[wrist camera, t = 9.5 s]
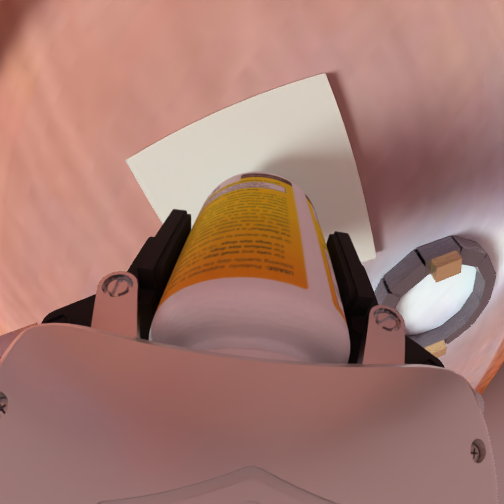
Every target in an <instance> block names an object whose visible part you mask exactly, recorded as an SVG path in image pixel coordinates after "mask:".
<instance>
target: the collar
mask: <svg viewBox="0 0 504 504" xmlns="http://www.w3.org/2000/svg"><path fill="white" fill-rule="evenodd" d="M462 264H463V265H469V266H474V267H475V268H476V270H477V271H476V278H475V283H474V289H473V292H472V293H471V295H470V297H469V298H468V300H467V301H466V303H465V304H464V306H463V307H462V309H461V310H460V311H459V312H458V313H457V314H456V315H454V316H453V317H452V318H451V319H449V320H448V321H447V322H446V323H444V324H443V325H442V326H440V327H438V328H436V329H433V330H431V331H428V332H425V333H423V334H420V335H407V336H408V337H409V338H411V339H412V340H414V341H415V342H416V343H418V344H419V345H420V346H422V347H423V348H424V349H426V350H427V351H429V352H430V353H431V354H433V355H434V356H435V357H437V358H438V357H440V356H442V355H445V353H446V349H447V347H446V343H447V344H449V343H450V342H451V341H453V340H454V339H455V338H457V337H458V336H459V335H461V334H462V333H463V332H464V331H466V330H467V329H468V328H469V327H471V324H473V323H474V322H475V321H476V319H477V318H478V317H479V315H480V314H481V313H482V311H483V310H484V308H485V307H486V305H487V304H488V302H489V301H488V300H490V298H491V294H492V290H493V286H494V282H495V278H496V275H495V274H496V273H495V270H494V268H493V265H492V263H491V261H490V259H489V256H488V255H487V253H486V252H485V251H484V250H483V249H482V247H481V246H480V245H479V244H478V243H477V242H474V241H471V240H467V239H463V238H459V237H455V236H452V238H451V237H450V236H449V237H446V238H443V239H440V240H438V241H435V242H432V243H429V244H426V245H424V246H421V247H418V248H417V253H416V252H415V251H414V250H413V251H412V252H411V253H410V254H408V255H407V256H406V257H405V258H404V259H403V260H402V261H401V262H399V263H398V264H397V265H396V266H395V267H394V268H392V269H391V270H390V271H389V272H388V273H387V274H385V275H384V278H385V279H381V281H380V283H379V285H378V287H377V289H376V291H375V293H374V294H375V296H376V299H377V302H378V304H379V305H385V306H389V307H391V308H393V309H394V308H395V307H396V305H397V303H398V302H399V300H400V298H401V297H402V296H403V295H404V294H405V293H407V292H408V291H409V290H410V289H412V288H413V287H414V286H415V285H416V284H418V283H419V282H420V281H421V280H422V279H423V278H425V277H426V276H427V275H428V274H431V275H432V276H433V278H434V280H435V281H436V282H439V281H441V280H444V279H446V278H449V277H451V276H454V275H456V274H459V273H461V265H462Z"/></svg>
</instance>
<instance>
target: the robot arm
mask: <svg viewBox="0 0 504 504" xmlns="http://www.w3.org/2000/svg"><path fill="white" fill-rule="evenodd" d="M190 231H191V214H187V211H186V210H178V209H173V210H172V211H171V213H170V214H169V216H168V217H167V219H166V220H165V222H164V223H163V225H162V227H161V228H160V230H159V231H158V233H157V234H156V236H155V237H149V238H148V240H147V241H146V243H145V244H144V246H143V247H142V249H141V250H140V252H139V254H138V255H137V257H136V258H135V260H134V261H133V263H132V265H131V266H130V268H129V270H128V271H127V272H122V271H118V272H113V273H110V274H108V275H106V276H105V277H103V278H102V279H101V280H100V282H99V284H98V287H97V292H96V294H95V295H93V296H90V297H88V298H85V299H82V300H80V301H77V302H75V303H72V304H70V305H67V306H65V307H62V308H60V309H57V310H55V311H53V312H51V313H49V314H48V315H47V316H46V317H45V318H44V320H43V321H42V324H37V323H35V324H32V325H29V326H26V327H24V328H21V329H18V330H15V331H13V332H10V333H7V334H4V335H2V336H0V504H498V491H497V480H496V479H497V478H496V471H495V464H494V458H493V453H492V448H491V443H490V438H489V434H488V430H487V426H486V423H485V420H484V416H483V413H484V406H485V405H484V400H483V398H482V397H481V395H480V394H479V393H478V392H476V391H475V390H474V389H472V387H471V385H470V384H469V382H468V381H467V380H466V379H465V378H464V377H463V376H461V375H460V374H458V373H456V372H454V371H452V370H449V369H446V368H444V365H443V364H442V362H441V361H440V360H439V359H438V358H437V357H435V356H434V355H433V354H431V353H430V352H429V351H427V350H426V349H424V348H423V347H422V346H420V345H419V344H418V343H416V342H415V341H414V340H412V339H411V338H409V337H408V336H407V335H405V324H404V320H403V318H402V316H401V315H400V314H399V313H398V312H397V311H396V310H395V309H393V308H391V307H389V306H385V305H379V304H378V302H377V299H376V296H375V294H374V291H373V288H372V286H371V283H370V281H369V278H368V275H367V273H366V270H365V268H364V266H362V264H361V262H360V259H359V257H358V255H357V252H356V250H355V247H354V245H353V243H352V240H351V238H350V236H349V234H348V233H344V232H338V231H335V232H334V234H330V235H329V237H328V240H327V243H326V246H327V249H328V252H329V256H330V260H331V263H332V267H333V271H334V275H335V278H336V282H337V286H338V290H339V294H340V298H341V301H342V305H343V310H344V314H345V318H346V322H347V327H348V332H349V338H350V355H349V360H348V363H347V364H345V363H319V362H303V361H289V360H277V359H266V358H257V357H248V356H239V355H232V354H224V353H217V352H211V351H204V350H198V349H192V348H186V347H180V346H175V345H170V344H164V343H159V342H154V341H150V340H149V332H150V328H151V324H152V321H153V318H154V315H155V313H156V310H157V308H158V305H159V303H160V300H161V298H162V296H163V293H164V291H165V288H166V286H167V283H168V281H169V279H170V276H171V274H172V272H173V269H174V267H175V265H176V262H177V260H178V258H179V255H180V253H181V251H182V249H183V247H184V244H185V242H186V240H187V238H188V236H189V233H190Z"/></svg>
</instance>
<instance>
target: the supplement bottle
mask: <svg viewBox="0 0 504 504" xmlns="http://www.w3.org/2000/svg"><path fill="white" fill-rule="evenodd" d="M149 340H150V341H154V342H159V343H164V344H170V345H175V346H180V347H186V348H192V349H198V350H204V351H211V352H217V353H224V354H232V355H239V356H248V357H257V358H266V359H277V360H289V361H303V362H319V363H345V364H347V363H348V360H349V355H350V338H349V332H348V327H347V322H346V318H345V314H344V310H343V305H342V301H341V298H340V294H339V290H338V286H337V282H336V278H335V275H334V271H333V267H332V263H331V260H330V256H329V252H328V249H327V246H326V242H325V239H324V236H323V233H322V230H321V226H320V223H319V220H318V217H317V214H316V211H315V209H314V206H313V204H312V202H311V201H310V199H309V198H308V196H307V195H306V194H305V192H304V191H303V190H302V189H301V188H300V187H299V186H297V185H296V184H295V183H293V182H292V181H290V180H288V179H286V178H284V177H282V176H279V175H276V174H272V173H267V172H247V173H242V174H238V175H236V176H233V177H231V178H229V179H227V180H225V181H223V182H222V183H221V184H219V185H218V186H217V187H216V188H215V189H214V190H213V191H212V192H211V193H210V194H209V196H208V197H207V199H206V200H205V202H204V204H203V206H202V208H201V210H200V212H199V214H198V216H197V218H196V221H195V223H194V225H193V227H192V229H191V231H190V233H189V236H188V238H187V240H186V242H185V244H184V247H183V249H182V251H181V253H180V255H179V258H178V260H177V262H176V265H175V267H174V269H173V272H172V274H171V276H170V279H169V281H168V283H167V286H166V288H165V291H164V293H163V296H162V298H161V300H160V303H159V305H158V308H157V310H156V313H155V315H154V318H153V321H152V324H151V328H150V332H149Z"/></svg>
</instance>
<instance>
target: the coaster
mask: <svg viewBox="0 0 504 504" xmlns="http://www.w3.org/2000/svg"><path fill="white" fill-rule="evenodd" d="M126 162H127V164H128V166H129V167H130V169H131V171H132V173H133V174H134V176H135V178H136V180H137V181H138V183H139V185H140V187H141V188H142V190H143V192H144V193H145V195H146V197H147V199H148V200H149V202H150V204H151V205H152V207H153V209H154V210H155V212H156V214H157V215H158V217H159V219H160V220H161V222H162V223H164V222H165V220H166V219H167V217H168V216H169V214H170V213H171V211H172V210H173V209H178V210H186V211H187V214H191V229H192V227H193V225H194V223H195V221H196V218H197V216H198V214H199V212H200V210H201V208H202V206H203V204H204V202H205V200H206V199H207V197H208V196H209V194H210V193H211V192H212V191H213V190H214V189H215V188H216V187H217V186H218V185H219V184H221V183H222V182H223V181H225V180H227V179H229V178H231V177H233V176H236V175H238V174H242V173H247V172H267V173H272V174H276V175H279V176H282V177H284V178H286V179H288V180H290V181H292V182H293V183H295V184H296V185H297V186H299V187H300V188H301V189H302V190H303V191H304V192H305V194H306V195H307V196H308V198H309V199H310V201H311V202H312V204H313V206H314V209H315V211H316V214H317V217H318V220H319V223H320V226H321V230H322V233H323V236H324V239H325V242H326V243H327V240H328V237H329V235H330V234H334V232H335V231H338V232H344V233H348V234H349V236H350V238H351V240H352V243H353V245H354V247H355V250H356V252H357V255H358V257H359V259H360V262H361V263H362V262H365V261H368V260H371V259H374V258H376V253H375V247H374V242H373V236H372V231H371V226H370V221H369V216H368V212H367V207H366V203H365V198H364V194H363V190H362V186H361V182H360V178H359V174H358V170H357V166H356V163H355V159H354V156H353V152H352V149H351V145H350V142H349V139H348V136H347V133H346V129H345V126H344V123H343V120H342V117H341V114H340V111H339V109H338V106H337V103H336V100H335V97H334V95H333V92H332V89H331V87H330V84H329V82H328V79H327V77H326V74H325V73H323V74H319V75H316V76H312V77H309V78H306V79H302V80H299V81H296V82H293V83H290V84H287V85H284V86H281V87H278V88H275V89H272V90H270V91H267V92H264V93H261V94H259V95H256V96H254V97H251V98H248V99H246V100H243V101H241V102H239V103H236V104H234V105H231V106H229V107H227V108H224V109H222V110H220V111H218V112H215V113H213V114H211V115H209V116H207V117H204V118H202V119H200V120H198V121H196V122H194V123H192V124H190V125H188V126H186V127H184V128H182V129H180V130H178V131H176V132H174V133H172V134H170V135H169V136H167V137H165V138H163V139H161V140H159V141H158V142H156V143H154V144H152V145H150V146H149V147H147V148H145V149H143V150H142V151H140V152H138V153H137V154H135V155H133V156H132V157H130V158H129V159H127V160H126Z"/></svg>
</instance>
